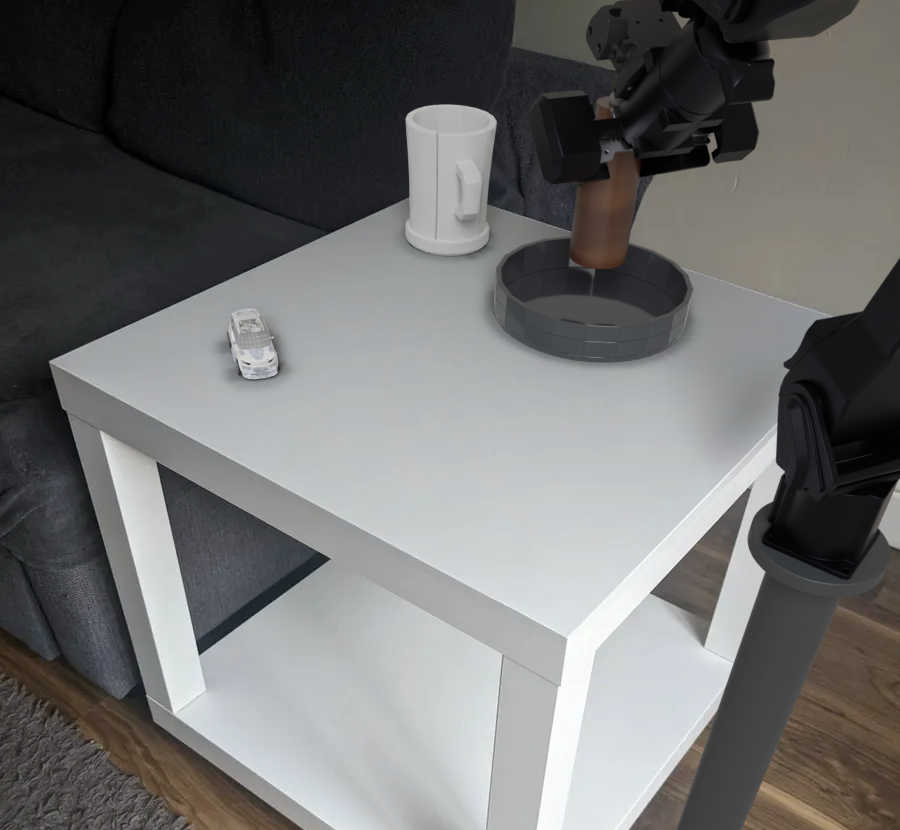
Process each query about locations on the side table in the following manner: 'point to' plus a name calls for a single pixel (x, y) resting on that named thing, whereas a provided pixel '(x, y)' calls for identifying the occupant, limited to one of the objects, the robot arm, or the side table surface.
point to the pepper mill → (605, 208)
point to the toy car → (252, 345)
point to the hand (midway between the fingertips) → (600, 177)
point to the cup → (449, 178)
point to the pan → (591, 302)
